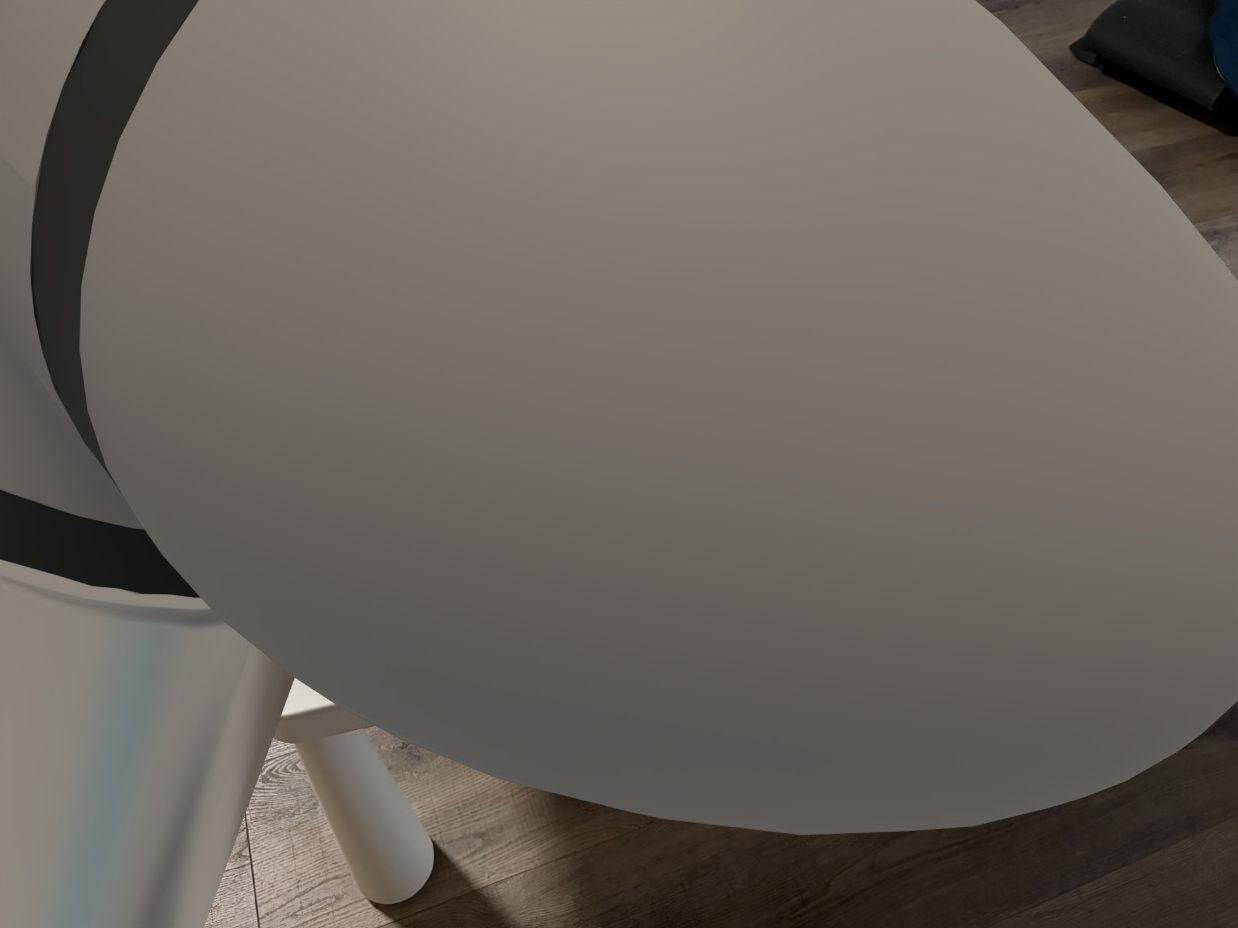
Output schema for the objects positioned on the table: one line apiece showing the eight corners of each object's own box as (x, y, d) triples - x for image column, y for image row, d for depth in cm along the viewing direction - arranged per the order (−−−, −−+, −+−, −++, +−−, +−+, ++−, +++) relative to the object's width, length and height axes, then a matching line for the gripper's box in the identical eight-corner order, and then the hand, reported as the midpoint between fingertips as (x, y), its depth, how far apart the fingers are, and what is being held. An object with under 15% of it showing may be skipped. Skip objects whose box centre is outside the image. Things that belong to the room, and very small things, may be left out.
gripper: (718, 639, 53) (351, 601, 55) (738, 328, 68) (450, 306, 70) (728, 568, 47) (316, 529, 49) (748, 245, 62) (433, 224, 64)
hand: (394, 398), depth 59 cm, fingers open, 13 cm apart
